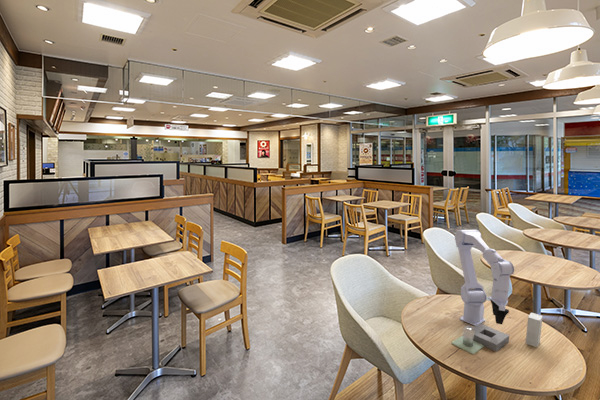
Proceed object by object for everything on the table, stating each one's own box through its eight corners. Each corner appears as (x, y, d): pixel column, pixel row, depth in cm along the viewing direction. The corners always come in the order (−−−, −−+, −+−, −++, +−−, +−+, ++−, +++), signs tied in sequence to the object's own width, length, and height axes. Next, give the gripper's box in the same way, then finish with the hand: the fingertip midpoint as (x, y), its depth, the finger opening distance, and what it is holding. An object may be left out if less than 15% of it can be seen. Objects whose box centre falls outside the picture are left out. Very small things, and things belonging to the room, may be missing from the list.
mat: (462, 336, 137) (462, 335, 137) (483, 346, 130) (484, 345, 130) (451, 343, 132) (451, 342, 132) (473, 354, 125) (473, 353, 125)
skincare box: (527, 337, 137) (530, 312, 135) (539, 342, 134) (543, 315, 132) (524, 343, 133) (527, 317, 131) (537, 348, 130) (540, 320, 128)
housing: (479, 329, 143) (480, 323, 143) (508, 341, 134) (509, 335, 133) (466, 337, 137) (466, 331, 136) (496, 351, 127) (496, 344, 126)
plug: (467, 340, 134) (468, 325, 133) (475, 345, 130) (476, 329, 129) (460, 342, 132) (461, 326, 131) (468, 347, 128) (469, 331, 128)
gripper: (487, 281, 140) (484, 309, 142) (491, 294, 127) (489, 325, 129) (505, 284, 138) (502, 313, 139) (512, 297, 124) (509, 329, 126)
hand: (497, 319), depth 134 cm, fingers open, 7 cm apart
